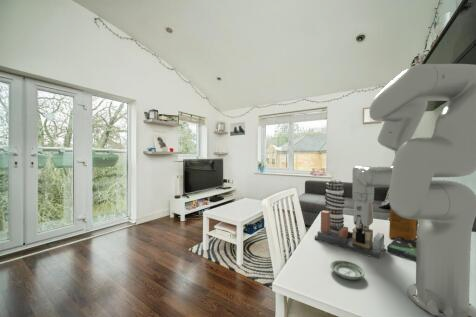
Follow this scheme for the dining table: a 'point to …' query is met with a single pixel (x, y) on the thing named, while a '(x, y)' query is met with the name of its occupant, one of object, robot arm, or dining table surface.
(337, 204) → the decorative candle
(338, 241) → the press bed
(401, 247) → the disk drive
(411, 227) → the coffee package
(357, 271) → the saucer
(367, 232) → the maple block
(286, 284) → the dining table surface
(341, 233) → the reddish brown stepped block
